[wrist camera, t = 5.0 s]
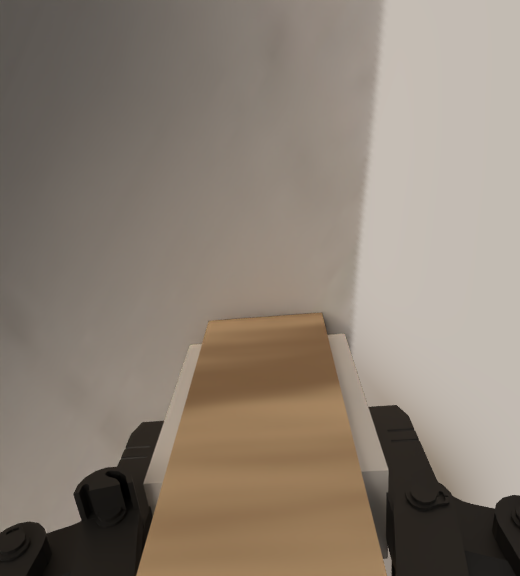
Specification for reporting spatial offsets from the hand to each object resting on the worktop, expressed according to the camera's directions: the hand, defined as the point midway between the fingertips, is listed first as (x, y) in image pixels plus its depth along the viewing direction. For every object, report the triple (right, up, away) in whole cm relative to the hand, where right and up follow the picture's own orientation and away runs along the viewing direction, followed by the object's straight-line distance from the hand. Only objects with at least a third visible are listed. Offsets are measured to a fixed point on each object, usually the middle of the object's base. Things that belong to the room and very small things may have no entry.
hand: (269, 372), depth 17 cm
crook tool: (-2, -8, +4) cm, 9 cm away
